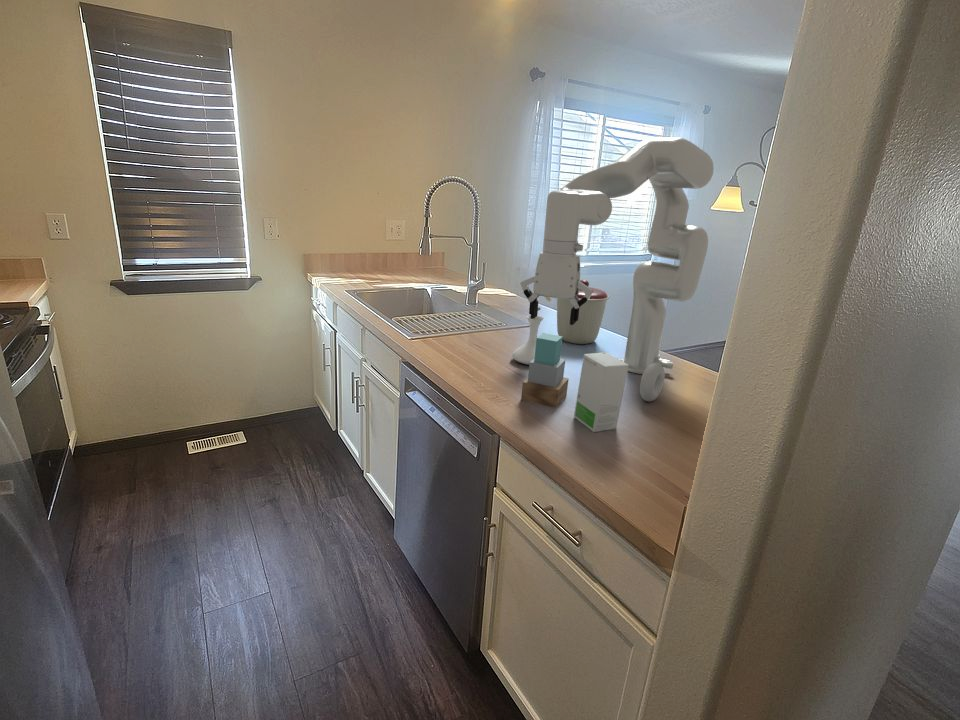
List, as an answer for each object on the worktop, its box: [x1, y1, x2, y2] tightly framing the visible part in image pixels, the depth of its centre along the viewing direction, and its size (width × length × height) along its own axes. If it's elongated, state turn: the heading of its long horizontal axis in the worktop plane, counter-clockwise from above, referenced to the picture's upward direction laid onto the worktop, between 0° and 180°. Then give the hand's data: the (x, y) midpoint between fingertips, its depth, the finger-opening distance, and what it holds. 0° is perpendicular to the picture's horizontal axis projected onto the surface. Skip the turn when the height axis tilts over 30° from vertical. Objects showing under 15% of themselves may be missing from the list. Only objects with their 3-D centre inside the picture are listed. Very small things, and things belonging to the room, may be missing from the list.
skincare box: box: [573, 351, 629, 433], centre depth 114 cm, size 8×7×16 cm
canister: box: [556, 279, 610, 345], centre depth 177 cm, size 18×18×21 cm
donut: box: [639, 363, 666, 402], centre depth 130 cm, size 10×4×10 cm, turn 141°
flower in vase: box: [511, 296, 552, 366], centre depth 152 cm, size 13×11×25 cm
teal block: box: [534, 332, 563, 365], centre depth 125 cm, size 5×5×6 cm
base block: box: [520, 376, 570, 409], centre depth 128 cm, size 9×9×5 cm
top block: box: [527, 358, 566, 387], centre depth 127 cm, size 7×7×5 cm
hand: (552, 320), depth 123 cm, fingers open, 9 cm apart
